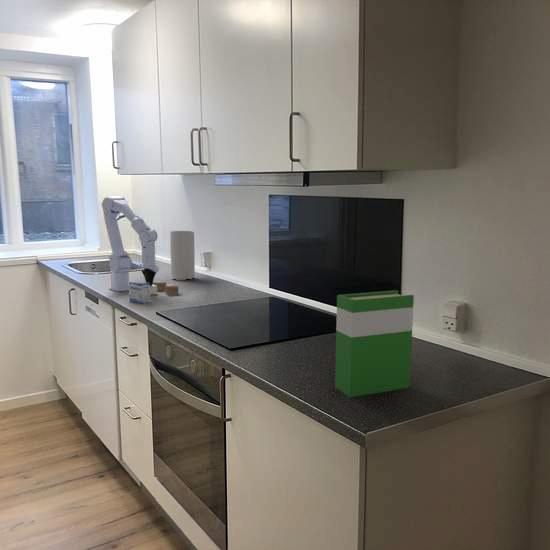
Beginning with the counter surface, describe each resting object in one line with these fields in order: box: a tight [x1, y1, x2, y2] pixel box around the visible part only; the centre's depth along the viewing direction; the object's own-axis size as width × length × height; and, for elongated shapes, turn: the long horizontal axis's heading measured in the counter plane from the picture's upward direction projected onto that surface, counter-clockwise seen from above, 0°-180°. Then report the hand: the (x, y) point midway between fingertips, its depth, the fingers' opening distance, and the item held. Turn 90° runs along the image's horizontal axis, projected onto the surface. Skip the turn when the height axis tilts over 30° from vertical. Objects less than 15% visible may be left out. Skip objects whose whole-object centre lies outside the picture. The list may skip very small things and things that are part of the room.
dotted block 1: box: [153, 280, 167, 292], centre depth 282 cm, size 5×5×4 cm
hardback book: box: [334, 289, 415, 398], centre depth 149 cm, size 18×7×24 cm, turn 114°
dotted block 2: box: [164, 283, 179, 296], centre depth 273 cm, size 5×5×4 cm
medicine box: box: [128, 280, 151, 304], centre depth 254 cm, size 8×4×9 cm, turn 62°
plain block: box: [150, 284, 158, 296], centre depth 273 cm, size 5×5×4 cm
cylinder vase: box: [169, 230, 196, 281], centre depth 314 cm, size 12×12×25 cm
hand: (149, 285), depth 272 cm, fingers closed
